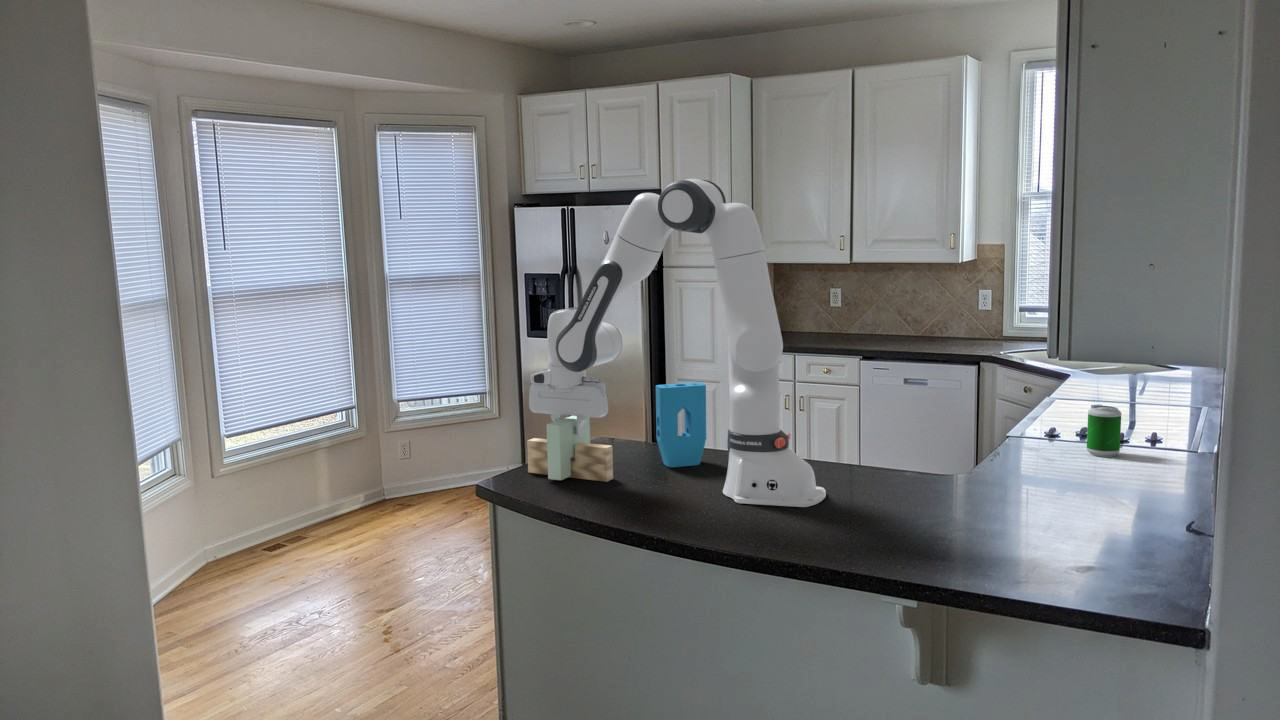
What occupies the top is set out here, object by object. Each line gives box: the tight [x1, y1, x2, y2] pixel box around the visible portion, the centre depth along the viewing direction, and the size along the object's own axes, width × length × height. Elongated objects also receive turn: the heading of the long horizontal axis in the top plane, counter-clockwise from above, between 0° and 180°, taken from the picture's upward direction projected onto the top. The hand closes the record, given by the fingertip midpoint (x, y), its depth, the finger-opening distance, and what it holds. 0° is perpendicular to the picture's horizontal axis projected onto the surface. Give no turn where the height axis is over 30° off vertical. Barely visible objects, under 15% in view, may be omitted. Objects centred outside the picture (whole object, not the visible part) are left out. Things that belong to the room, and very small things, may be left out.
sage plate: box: [546, 415, 591, 481], centre depth 228 cm, size 4×14×13 cm, turn 153°
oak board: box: [526, 437, 614, 483], centre depth 229 cm, size 22×3×8 cm, turn 63°
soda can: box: [1086, 405, 1122, 458], centre depth 240 cm, size 8×8×12 cm
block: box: [655, 382, 707, 468], centre depth 237 cm, size 12×5×20 cm, turn 106°
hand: (569, 433), depth 228 cm, fingers closed on sage plate, 3 cm apart
